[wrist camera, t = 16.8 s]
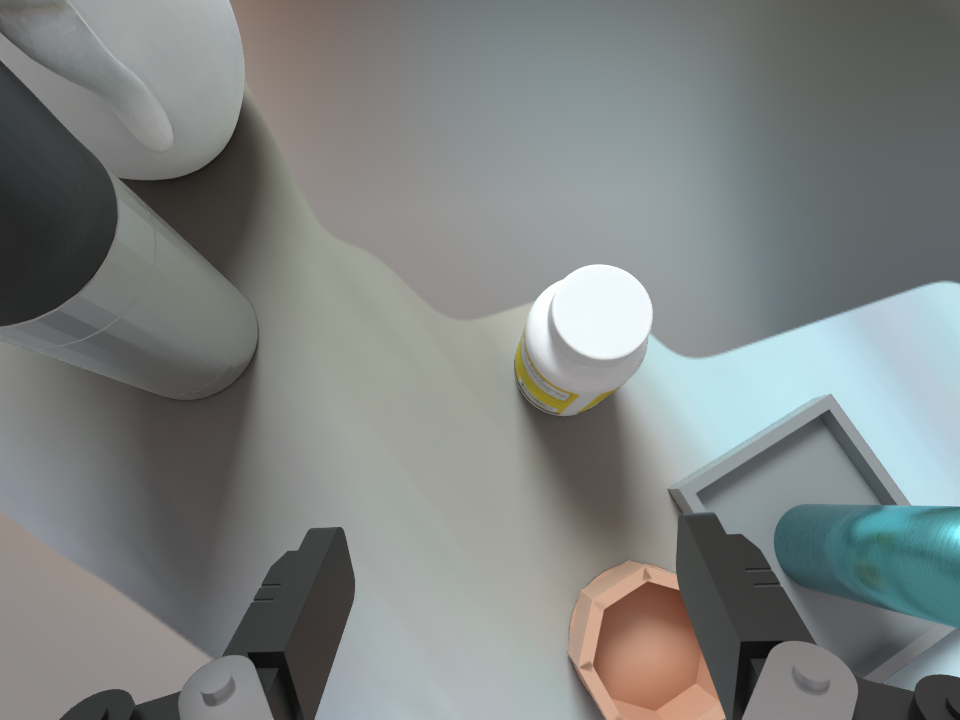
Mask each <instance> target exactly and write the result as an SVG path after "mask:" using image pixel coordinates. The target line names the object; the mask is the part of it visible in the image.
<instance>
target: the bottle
mask: <svg viewBox="0 0 960 720" xmlns="http://www.w3.org/2000/svg"><path fill="white" fill-rule="evenodd" d="M774 549H775V554H776V557H777V560H778V562H779V564H780V566H781V568H782V569H783V570H784V572H785V573H786V574H787V575H788V576H789V578H791V579H792V580H793V581H794V582H796V583H797V584H799V585H800V586H802V587H805V588H807V589H810V590H814V591H818V592H822V593H826V594H829V595H833V596H837V597H841V598H844V599H848V600H852V601H856V602H860V603H863V604H867V605H871V606H875V607H879V608H882V609H886V610H890V611H894V612H897V613H901V614H905V615H909V616H913V617H916V618H920V619H924V620H928V621H931V622H935V623H939V624H943V625H947V626H950V627H954V628H958V629H960V507H952V506H901V505H849V504H802V505H798V506H795V507H793V508H791V509H790V510H788V511H787V512H786V513H785V514H784V515H783V516H782V517H781V519H780V520H779V522H778V524H777V526H776V529H775V533H774Z"/></svg>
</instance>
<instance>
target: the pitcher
mask: <svg viewBox="0 0 960 720" xmlns="http://www.w3.org/2000/svg"><path fill="white" fill-rule="evenodd" d="M0 61H2V62H3V63H4V64H5V65H6V66H7V67H8V68H9V69H10V70H11V71H12V72H13V73H14V74H15V75H16V76H17V77H18V78H19V79H20V80H21V81H22V82H23V83H24V84H25V85H26V86H27V87H28V88H29V89H30V90H31V91H32V92H33V93H34V95H35V96H36V97H37V98H38V99H39V100H40V101H41V102H42V103H43V104H44V105H45V106H46V107H47V108H48V109H49V110H50V112H51V113H52V114H53V115H54V116H55V117H56V118H57V119H58V120H59V121H60V122H61V123H62V124H63V125H64V126H65V127H66V128H67V129H68V130H69V131H70V132H71V133H72V134H73V135H74V137H75V138H77V139H78V140H79V141H80V142H81V143H82V144H83V145H84V146H85V147H86V148H87V149H88V150H89V151H91V152H92V153H93V154H94V155H95V156H96V157H97V158H98V160H99V161H100V162H101V163H102V164H104V165H105V166H106V167H107V168H108V169H109V170H110V171H111V172H112V173H113V174H114V175H115V176H116V177H119V178H125V179H131V180H162V179H172V178H176V177H180V176H184V175H187V174H189V173H192V172H194V171H197V170H199V169H200V168H202V167H203V166H205V165H207V164H208V163H209V162H211V161H212V160H213V159H214V158H215V157H216V156H218V155H219V154H220V152H221V151H222V150H223V149H224V148H225V146H226V145H227V143H228V142H229V140H230V138H231V136H232V134H233V132H234V129H235V127H236V124H237V121H238V118H239V114H240V109H241V105H242V99H243V93H244V56H243V50H242V43H241V38H240V34H239V30H238V26H237V23H236V19H235V16H234V13H233V10H232V7H231V5H230V2H229V0H0Z"/></svg>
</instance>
